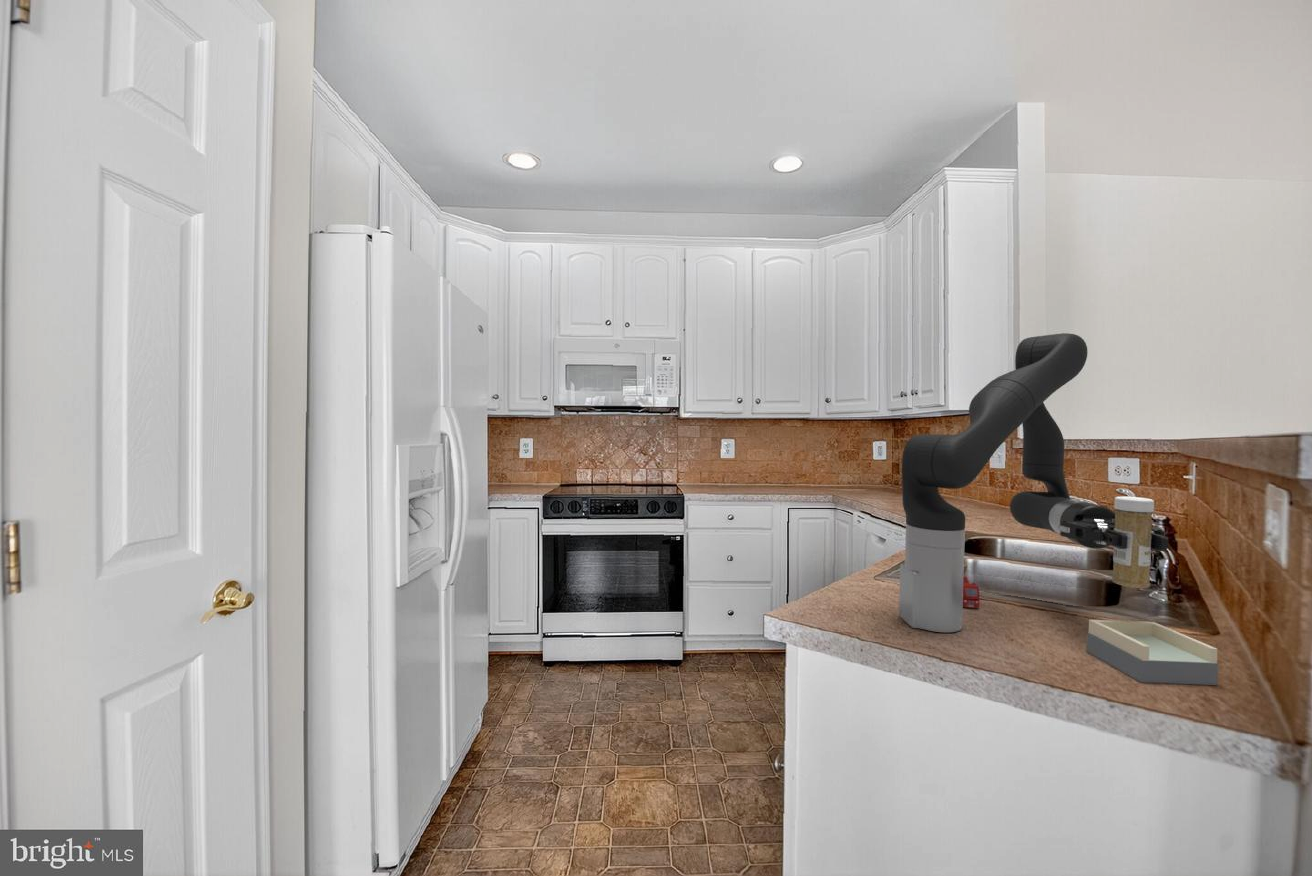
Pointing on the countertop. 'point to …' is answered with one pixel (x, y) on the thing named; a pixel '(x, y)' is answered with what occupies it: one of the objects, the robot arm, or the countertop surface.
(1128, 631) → the shallow square tray
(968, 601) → the toy fire truck
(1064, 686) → the countertop surface
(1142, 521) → the sprinkles bottle
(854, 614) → the countertop surface
